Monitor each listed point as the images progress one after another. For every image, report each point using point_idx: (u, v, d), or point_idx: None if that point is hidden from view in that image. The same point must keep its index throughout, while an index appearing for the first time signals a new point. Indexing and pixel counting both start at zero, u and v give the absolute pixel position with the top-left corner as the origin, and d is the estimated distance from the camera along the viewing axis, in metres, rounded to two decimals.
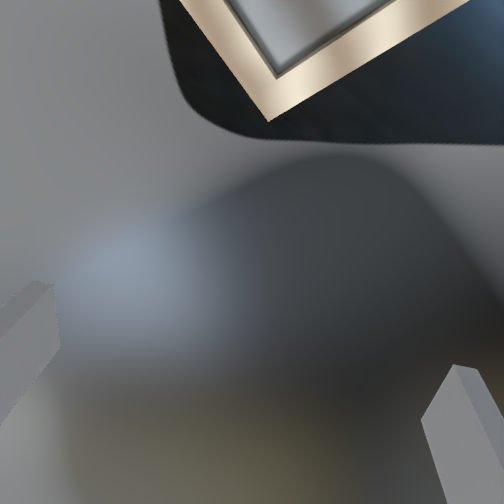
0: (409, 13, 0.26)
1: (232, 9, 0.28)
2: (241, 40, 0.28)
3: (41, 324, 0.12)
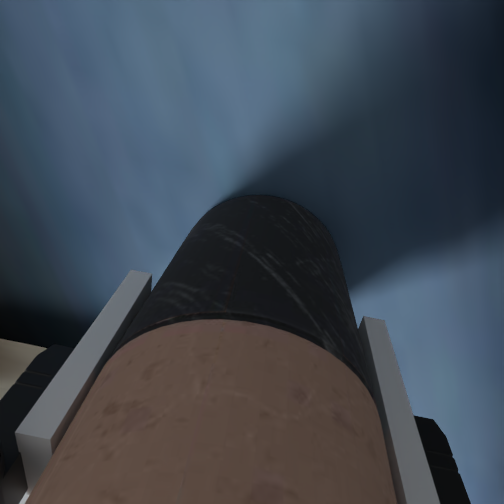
0: None
1: None
2: None
3: None
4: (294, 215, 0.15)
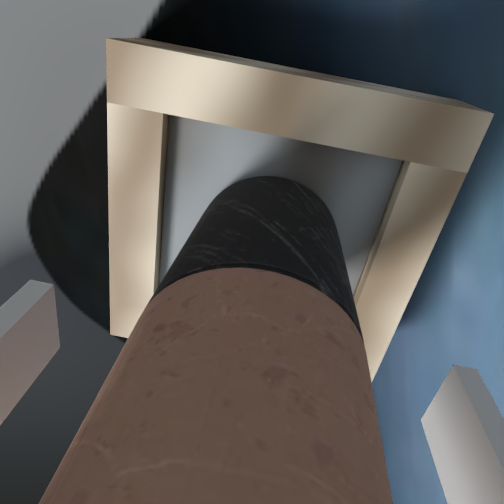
0: None
1: (160, 218, 0.20)
2: (146, 252, 0.21)
3: (41, 324, 0.12)
4: (298, 192, 0.17)
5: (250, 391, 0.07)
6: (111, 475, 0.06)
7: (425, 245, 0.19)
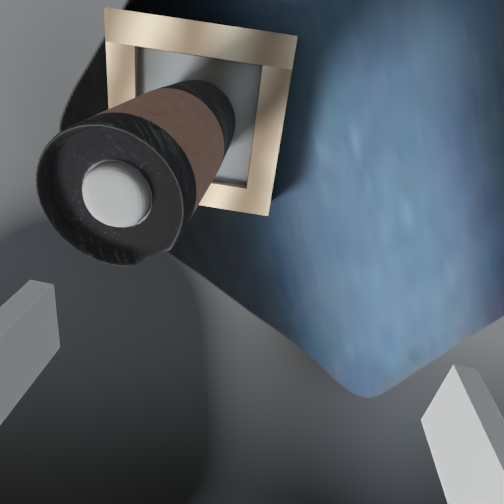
0: (233, 198, 0.39)
1: None
2: None
3: (41, 324, 0.12)
4: (206, 83, 0.33)
5: (155, 97, 0.23)
6: None
7: (280, 114, 0.35)
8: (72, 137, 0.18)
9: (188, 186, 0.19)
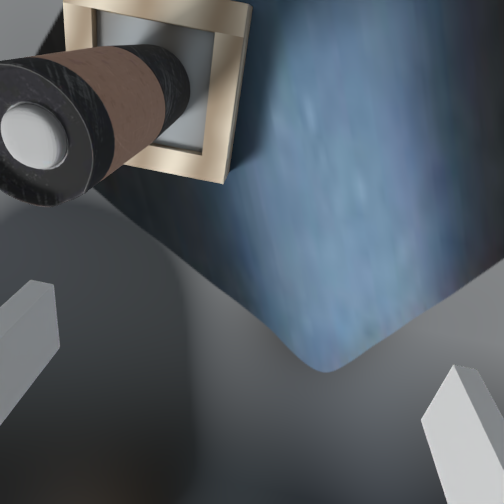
0: (189, 164, 0.40)
1: None
2: None
3: (41, 324, 0.12)
4: (159, 48, 0.34)
5: (88, 51, 0.24)
6: None
7: (232, 82, 0.36)
8: None
9: (99, 131, 0.20)
